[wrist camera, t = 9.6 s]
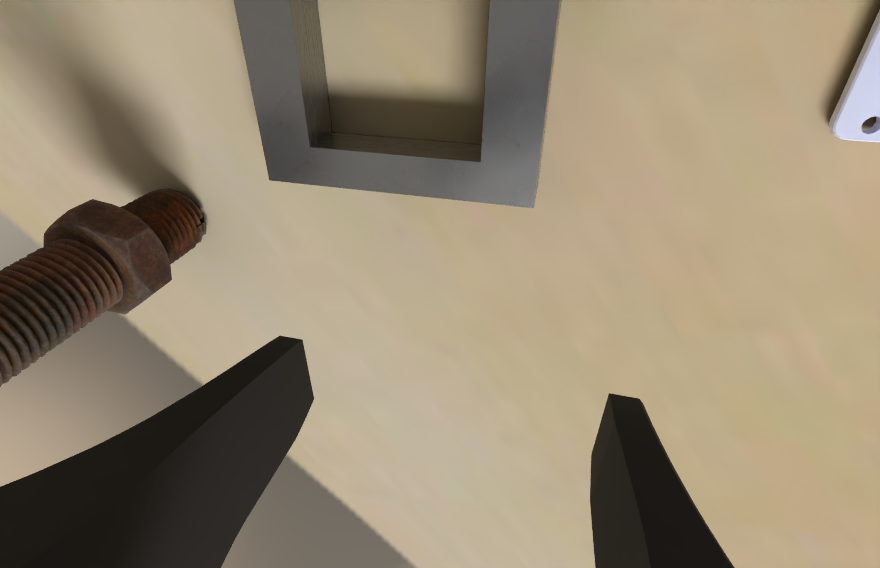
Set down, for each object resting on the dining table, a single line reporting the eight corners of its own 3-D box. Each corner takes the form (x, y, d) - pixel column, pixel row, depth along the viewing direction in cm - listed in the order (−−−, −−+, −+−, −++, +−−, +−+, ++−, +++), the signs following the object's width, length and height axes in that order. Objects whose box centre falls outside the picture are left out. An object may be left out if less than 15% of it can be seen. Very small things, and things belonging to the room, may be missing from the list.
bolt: (115, 158, 23) (-410, 371, 11) (203, 157, 22) (-278, 396, 10) (163, 263, 26) (-203, 520, 14) (242, 267, 25) (-83, 554, 13)
